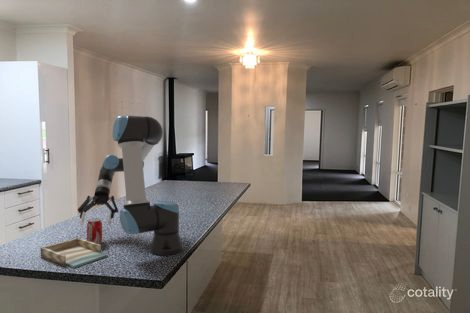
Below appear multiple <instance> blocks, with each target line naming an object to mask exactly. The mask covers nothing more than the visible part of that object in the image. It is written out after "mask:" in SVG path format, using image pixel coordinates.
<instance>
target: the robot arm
mask: <svg viewBox="0 0 470 313" xmlns="http://www.w3.org/2000/svg"><path fill="white" fill-rule="evenodd" d="M163 133H164V130H163V127H162V124H161V123H160V122H159V121H158V119H156V118H154V117H151V116H142V115H141V116H140V115H139V116H138V115H119V116H117V117H116V118H115V120H114V122H113V126H112V138H113V141H115V142H117V146H118V147H119V148H120V149H121V154H122V157H119V158H118V156H117V155H114V154H108V155H106V156H105V158H104V159H103V162H102V165H101V167H100V169H99V173H98V179H97V181H96V186H95V189H94V195H93V196H90V195H88V196H87V197H86V199H85V201H84V202H82V204H81V205H79V207H78V209H77V211H78V213H79V219H80V222H79V223H80V225H81V226H84V222H85V220H86V213H87V212H88V211H89V210H91V209H92V208H93V207H95V206H100V205H101V206H104V205H105V206H106V207H107V208H108V210H109V214H108V218H107V223H108V225H109V226H111V224H112V223H111V222H112V220H113V219H114V218H115V213H116V214H117V213H119V221H120V225H121V228H122V230H123V231H124V233H125V234H127V235H138V234H143V233H151V232H153V236H152V239H151V240H152V241H151V244H150V245H149V246H150V247H149V248H150V249H149V250H150V253H151V254H153V255H157V256H170V255H175V254H178V253H180V252H182V251H183V243H182V240H181V236H180V233H179V232H180V229H179V228H180V208H179V205H178V204H177V203H176V202H173V201H168V200H167V201H166V200H156V201H154V202H153V205H151V203H150V201H149V200H148V199H147V197H146V195H147V194H146V186H145V185H146V184H145V175H144V166H145V161H144V160H146V158H147V156H148V155H149V153H150V152H151V150H153V148H154V146H156V145H158V144H159V143H160V141H161V140H162V137H163ZM118 172H119V173H121V172H122V173H123V174H124V187H125V197H126V198H125V199H126V200H125V202H124V204H123V207H122V208H121V209H120V210H119V208H118V206H117V204H116V202H115V196H114V195H111V196H110V193H111V188H112V182H113V178H114V176H115V173H118ZM109 200H110V202H111V203H112V205H113V207H112V205H110V203H109Z"/></svg>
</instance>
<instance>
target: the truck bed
mask: <svg viewBox="0 0 470 313" xmlns="http://www.w3.org/2000/svg"><path fill="white" fill-rule="evenodd" d="M40 258H44V259H46V260H48V261H51V262H53V263H55V264H58V265H61V266H66V267H67V266H68V267H70V268H73V269H75V268H76V269H77V268H78V267H81V266H84V265H86V264H90V263H93V262H96V261H99V260H102V259H104V258H108V254H106V253H104V252H102V245H101V243H99V244H96V243H93V242H90V241H87V239H83V238H81V237H77V238H73V239H68V240H65V241H61V242H57V243H54V244H49V245H46V246H42V247H40Z"/></svg>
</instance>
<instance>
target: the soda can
mask: <svg viewBox="0 0 470 313" xmlns="http://www.w3.org/2000/svg"><path fill="white" fill-rule="evenodd" d="M86 240H87V241H90V242H93V243H96V244H101V243H102V241H103V222H102V220H101V218H98V217H97V218H90V219H88V220H87V223H86Z"/></svg>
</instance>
